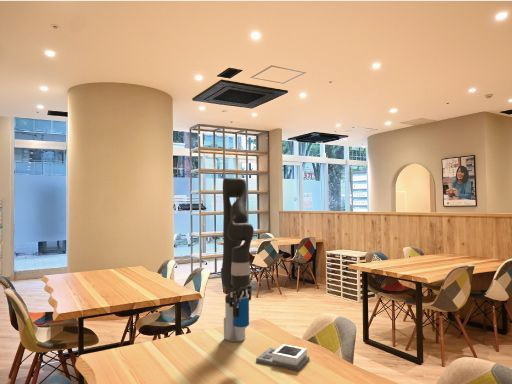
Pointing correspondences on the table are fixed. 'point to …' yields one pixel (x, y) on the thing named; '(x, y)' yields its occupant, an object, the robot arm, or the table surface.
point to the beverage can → (242, 314)
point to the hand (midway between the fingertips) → (240, 314)
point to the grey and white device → (285, 357)
